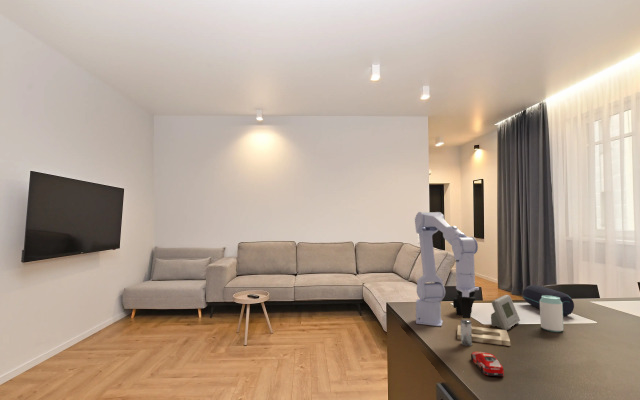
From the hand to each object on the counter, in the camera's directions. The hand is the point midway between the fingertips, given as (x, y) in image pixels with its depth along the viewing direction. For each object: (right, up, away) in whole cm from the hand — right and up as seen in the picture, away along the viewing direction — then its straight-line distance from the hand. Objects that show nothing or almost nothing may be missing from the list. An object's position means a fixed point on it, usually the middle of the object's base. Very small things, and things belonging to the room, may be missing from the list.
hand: (466, 314), depth 112 cm
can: (+38, -11, +14) cm, 42 cm away
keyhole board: (+8, -10, +6) cm, 14 cm away
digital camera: (+15, -12, +38) cm, 42 cm away
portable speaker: (+54, -12, +41) cm, 69 cm away
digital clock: (+24, -11, +19) cm, 32 cm away
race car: (-2, -9, -18) cm, 20 cm away
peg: (0, -9, -1) cm, 10 cm away
